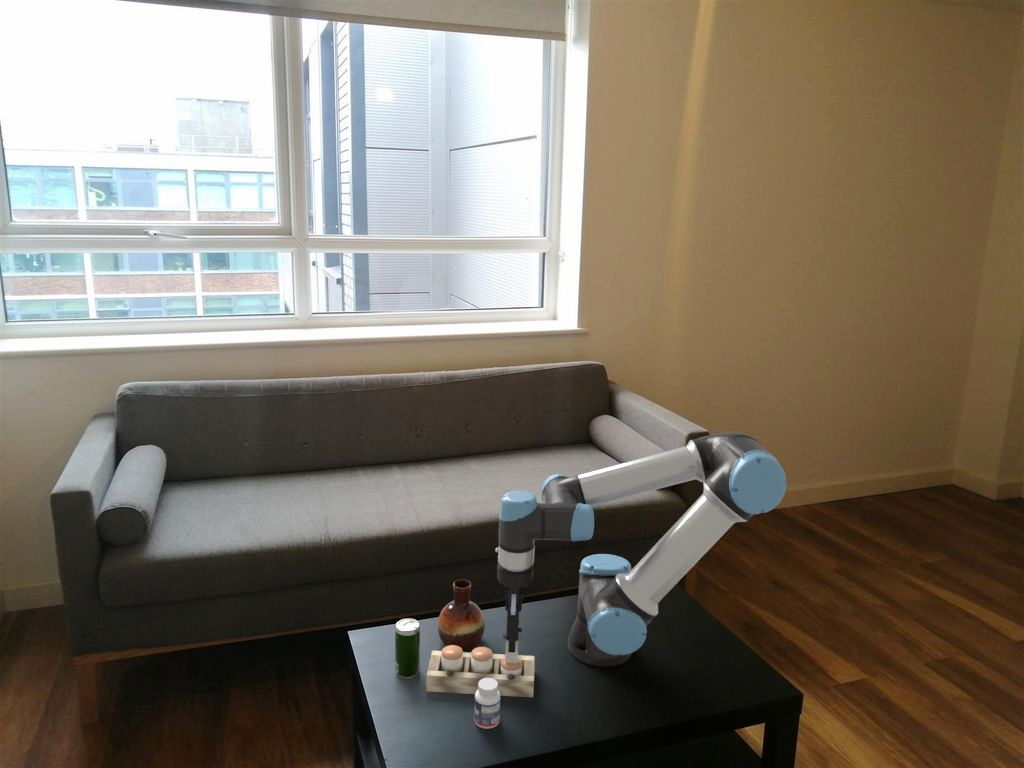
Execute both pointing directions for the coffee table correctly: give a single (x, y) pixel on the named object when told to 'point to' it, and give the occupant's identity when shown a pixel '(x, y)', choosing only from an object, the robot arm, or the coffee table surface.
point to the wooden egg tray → (480, 677)
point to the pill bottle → (487, 704)
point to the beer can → (407, 648)
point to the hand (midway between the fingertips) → (511, 661)
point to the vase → (461, 619)
